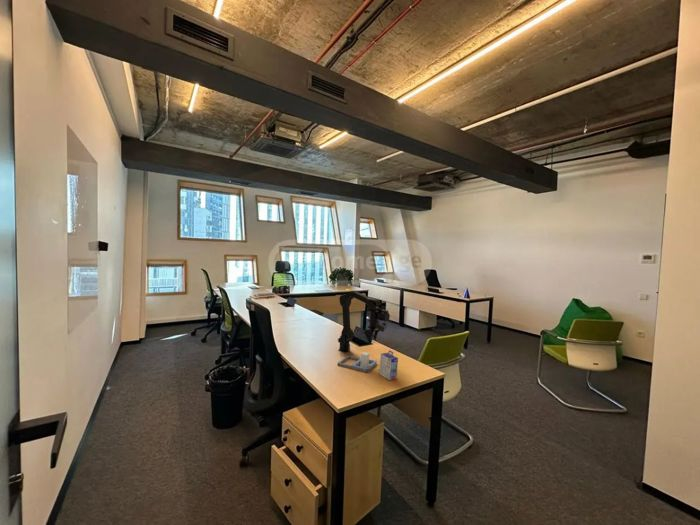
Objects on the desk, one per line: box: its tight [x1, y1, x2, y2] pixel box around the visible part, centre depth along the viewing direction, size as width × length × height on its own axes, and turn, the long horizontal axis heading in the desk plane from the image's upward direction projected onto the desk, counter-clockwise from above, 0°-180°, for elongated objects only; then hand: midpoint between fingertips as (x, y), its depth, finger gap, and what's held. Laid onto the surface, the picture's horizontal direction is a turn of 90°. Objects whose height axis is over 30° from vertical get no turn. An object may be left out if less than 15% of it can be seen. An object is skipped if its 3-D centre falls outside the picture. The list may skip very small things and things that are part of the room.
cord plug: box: [359, 351, 370, 368], centre depth 180 cm, size 4×4×8 cm
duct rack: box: [337, 354, 378, 373], centre depth 182 cm, size 20×15×2 cm
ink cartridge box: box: [378, 349, 399, 381], centre depth 167 cm, size 10×6×14 cm, turn 33°
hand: (372, 341), depth 190 cm, fingers open, 9 cm apart
